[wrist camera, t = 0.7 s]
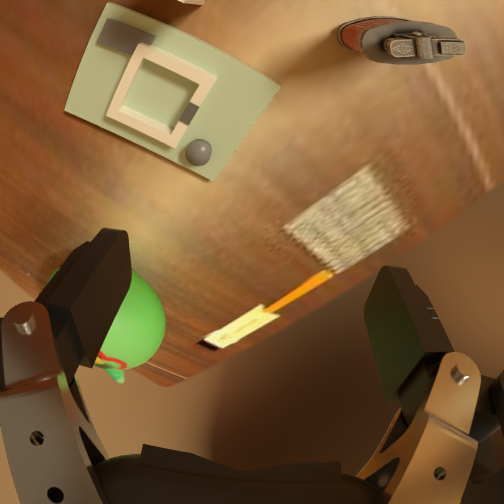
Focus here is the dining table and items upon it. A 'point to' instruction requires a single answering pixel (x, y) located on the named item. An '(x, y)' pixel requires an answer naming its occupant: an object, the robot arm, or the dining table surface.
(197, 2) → the plug
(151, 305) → the toy bird
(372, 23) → the lighter
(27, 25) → the dining table surface
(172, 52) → the board
